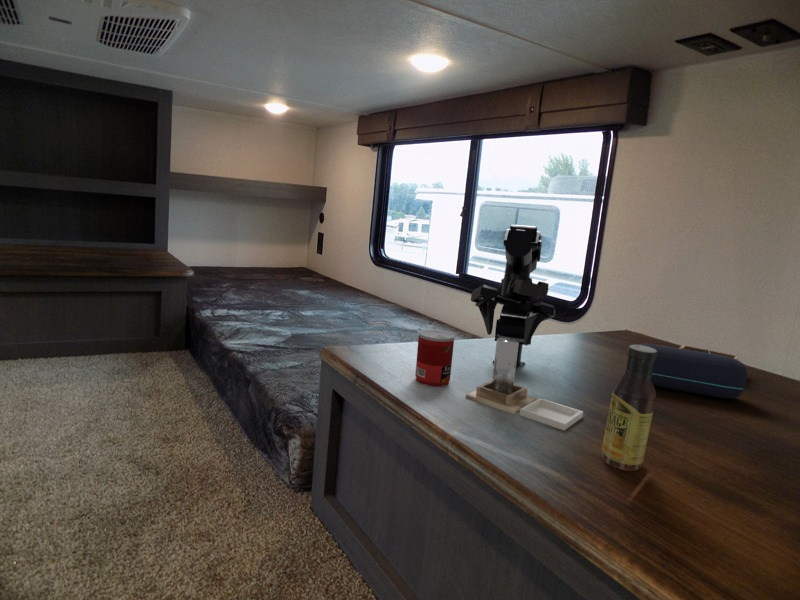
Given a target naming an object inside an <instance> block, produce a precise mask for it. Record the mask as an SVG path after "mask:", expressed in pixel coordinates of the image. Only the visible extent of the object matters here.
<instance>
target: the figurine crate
mask: <svg viewBox="0 0 800 600" xmlns="http://www.w3.org/2000/svg"><path fill="white" fill-rule="evenodd" d="M678 348H679V349H685V350H687V349H688V350H691V351H698V352H704V353H705V351H706V348H701V347H700V348H699V347H695V346H690V345H686V344H682V345H681V346H680V347H678ZM707 350H708V351H709V352H710V353H711V354H717V355H723V356H728V357H731V358H733V359H736V360H738V361H739V357H740V356H738V355H734V354H730V353H724V352H721V351H720V352H719V351H716V350H710V349H707Z"/></svg>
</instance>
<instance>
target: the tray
mask: <svg viewBox="0 0 800 600" xmlns="http://www.w3.org/2000/svg"><path fill="white" fill-rule="evenodd" d="M518 413H519V415H518V416H522V417H524V418H527V419H530V420H533V421H536V422H539V423H541V424H544V425H547V426H551V427H554V428H555V429H559V430H562V431H566V430H567V429H568V428H570V427H571V426H572V425H574V424H575V423H577V422H578V421H579V420H581V419H582V418H583V415H584V411H583V410H580V409H578V408H577V409H576V408H573V407H570V406H567V405H564V404H560V403H557V402H555V401H551V400H547V399H544V398H536V401H534V402H532V403H530V404H528V405H526V406H525V407H523V408H521V409H520V411H519V412H518Z"/></svg>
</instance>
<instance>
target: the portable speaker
mask: <svg viewBox="0 0 800 600" xmlns="http://www.w3.org/2000/svg"><path fill="white" fill-rule="evenodd" d="M637 345H643V346H648V347H651V348H653V349H655V350H657V357H656V360H655V361H654V364H653V369H652V376H651V382H652V384H653V386H655V387H660V388H666V389H668V390H669V389H670V390H675V391H681V392H685V393H686V392H687V393H691V394H692V393H693V394H696V395H702V396H707V397H713V398H717V399H727V400H729V399H730V400H733V399H737V398H739V397H741V395H742V393H743V392H744V390H745V387H746V384H747V378H748V371H747V367H746V365H745V364H744V363H743V362H742V361H740V360H739V359H738V360H736V359H733V358H731V357H728V356H723V355H717V354H710V353H704V352H698V351H691V350H685V349H679V348H680V347H678V348H677V347H673V346H672V347H671V346H665V345H659V344H653V343H639V344H637Z"/></svg>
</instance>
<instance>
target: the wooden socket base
mask: <svg viewBox="0 0 800 600" xmlns="http://www.w3.org/2000/svg"><path fill="white" fill-rule="evenodd" d="M491 386H492V380H489V381H487V382H484V383H482V384H479V385H477V386H476V389H475V390H473V391H471V392H469V393H465V398H467V399H469V400H471V401H472V400H473V401H475V402H477V403H480V404H483V405H486V406H489V407H491V408H494V409H497V410H500V411H504V412H507V413H510V414H512V415H515V414H516V413H519V412H520V409H521V408H523V407H525V406H526V405H528V404H530V403H532V402H534V401H536V400H537V398H535V397H532V396H529V395H528V388H527V387H523V386H520V385H517V384H514V385H513V393H511V394H509V395H507V394H504V393H501V392H498V391H495V390H491Z"/></svg>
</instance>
